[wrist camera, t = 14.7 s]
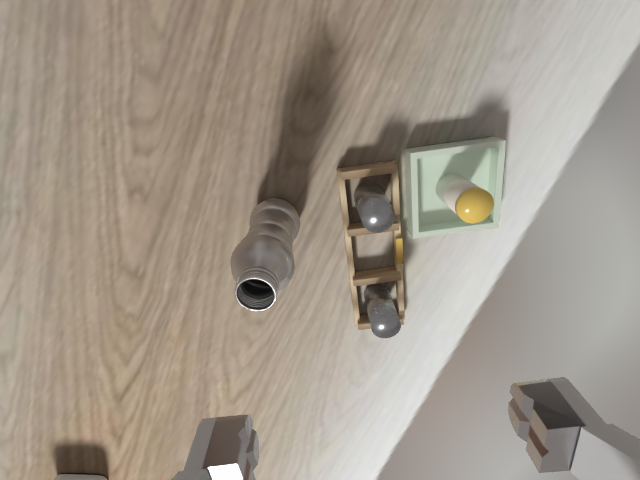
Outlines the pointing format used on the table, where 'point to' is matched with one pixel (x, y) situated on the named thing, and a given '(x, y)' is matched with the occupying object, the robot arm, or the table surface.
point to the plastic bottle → (265, 254)
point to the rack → (358, 229)
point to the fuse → (464, 198)
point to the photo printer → (79, 477)
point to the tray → (438, 160)
